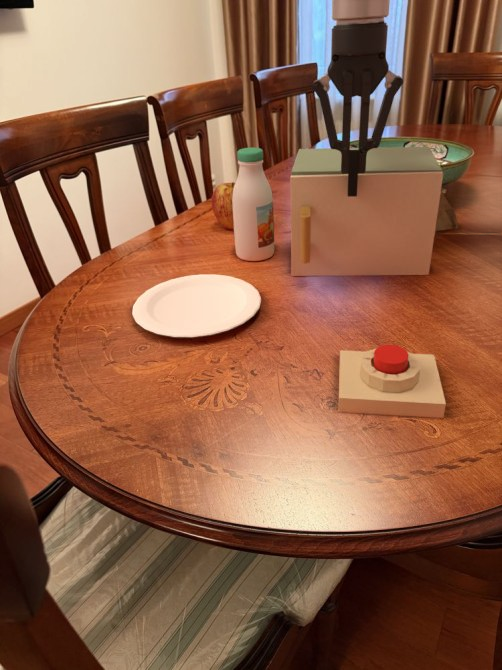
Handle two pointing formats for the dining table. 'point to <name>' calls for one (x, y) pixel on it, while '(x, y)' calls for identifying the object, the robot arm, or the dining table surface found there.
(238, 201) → the milk bottle
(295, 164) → the cupboard
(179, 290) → the plate
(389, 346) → the button
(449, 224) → the rock
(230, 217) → the apple
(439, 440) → the dining table surface
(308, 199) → the door
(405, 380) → the button base
